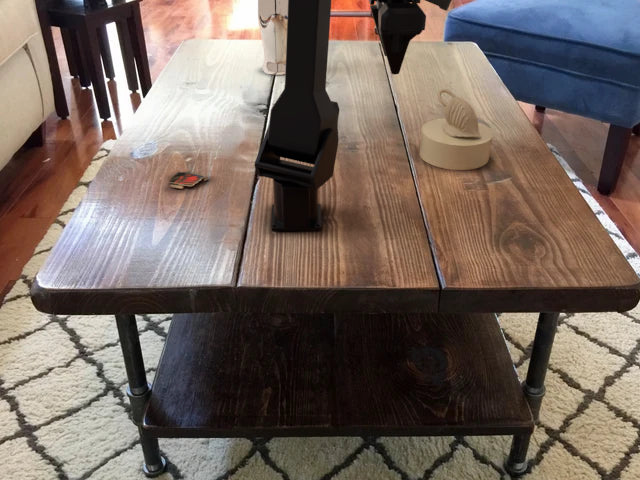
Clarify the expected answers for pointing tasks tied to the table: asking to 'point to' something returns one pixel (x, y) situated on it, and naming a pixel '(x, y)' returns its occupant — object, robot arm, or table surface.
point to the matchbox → (185, 179)
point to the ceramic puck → (454, 147)
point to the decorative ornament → (459, 117)
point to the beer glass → (273, 34)
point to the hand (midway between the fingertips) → (391, 64)
